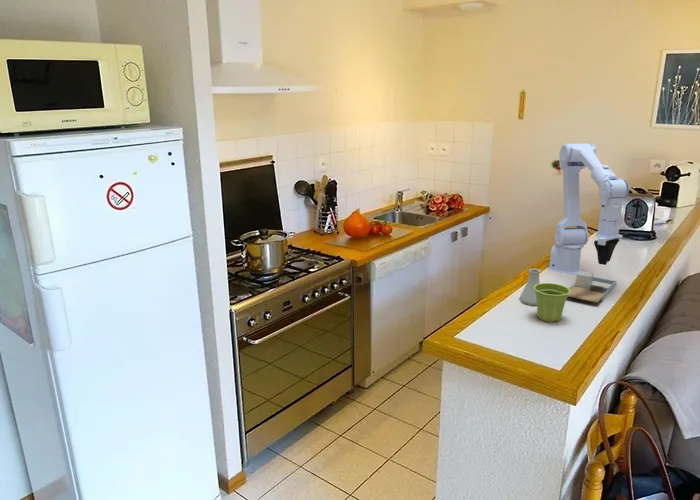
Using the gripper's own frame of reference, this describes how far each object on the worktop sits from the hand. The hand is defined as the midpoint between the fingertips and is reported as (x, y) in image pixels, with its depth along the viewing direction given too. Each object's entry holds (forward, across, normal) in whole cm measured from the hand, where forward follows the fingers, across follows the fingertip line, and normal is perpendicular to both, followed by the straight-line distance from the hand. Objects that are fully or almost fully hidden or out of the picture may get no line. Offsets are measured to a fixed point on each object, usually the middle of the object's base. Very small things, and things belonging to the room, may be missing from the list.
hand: (604, 262), depth 164 cm
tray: (+10, 0, +2) cm, 10 cm away
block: (+10, -2, +4) cm, 11 cm away
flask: (+10, -20, +14) cm, 27 cm away
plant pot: (+10, -29, +6) cm, 31 cm away
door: (+8, -9, +3) cm, 13 cm away
